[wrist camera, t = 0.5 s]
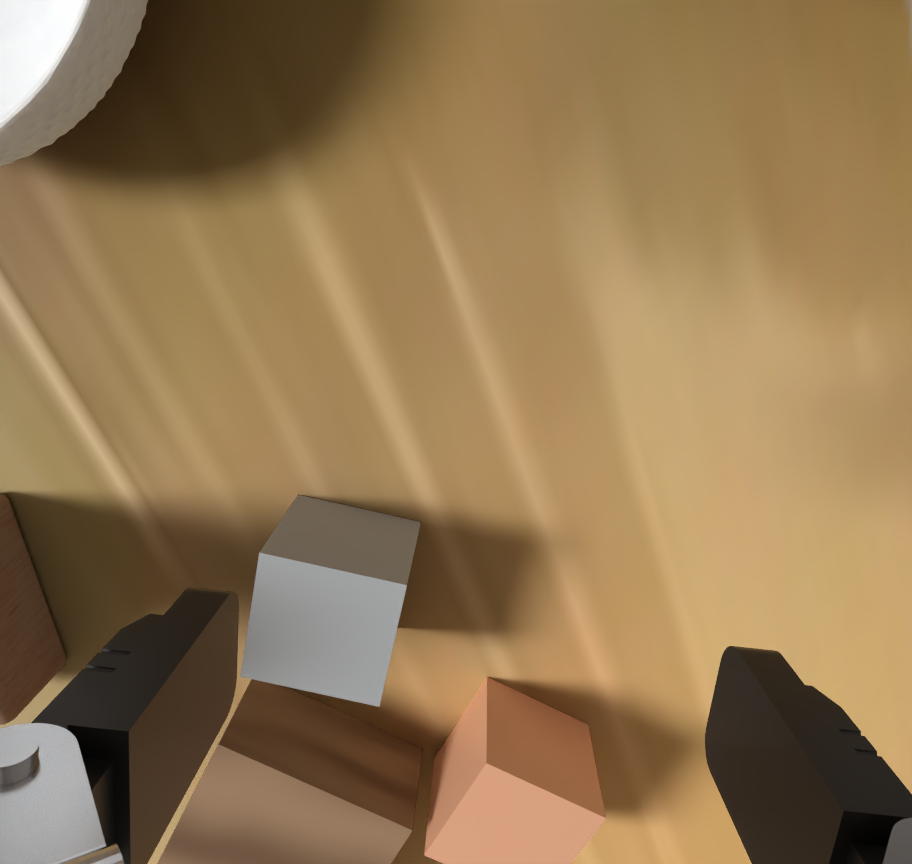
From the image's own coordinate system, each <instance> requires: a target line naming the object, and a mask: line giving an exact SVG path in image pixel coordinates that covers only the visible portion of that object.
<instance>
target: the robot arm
mask: <svg viewBox="0 0 912 864" xmlns="http://www.w3.org/2000/svg"><path fill="white" fill-rule="evenodd" d="M238 616H239V602H238V596H237V594H236V593H235V592H231V591H221V590H212V589H202V588H193V587H189V588H187V589H186V590H185V591H184V592H183V594H182V595H181V596H180V597H179V598H178V599H177V600H176V602H175V603H174V604H173V605H172V606H171V607H170V608H169V610H168V611H167V612H166V613H165V614H164V615H155V614H149V615H147V616H145V617H143V618H141V619H139V620H138V621H136V622H134V623H132V624H130V625H128V626H126V627H124V628H122V629H121V630H120V631H119V632H118V633H117V634H116V635H115V636H114V637H113V638H112V639H111V640H110V641H109V642H108V643H107V644H106V645H105V646H104V648H103V649H102V652H101V653H98V654H97V655H96V656H95V657H94V658H93V659H92V660H91V661H90V662H89V663H88V664H87V667H86V669H85V670H84V669H82V670H81V672H80V673H79V674H78V675H77V676H76V677H75V678H74V679H73V680H72V681H71V682H70V683H69V684H68V685H67V686H66V687H65V688H64V689H63V690H62V691H61V692H60V693H59V694H58V696H57V697H56V698H55V699H54V700H53V701H52V702H51V703H50V704H49V705H48V706H47V707H46V708H45V709H44V710H43V711H42V712H41V713H40V714H39V715H38V716H37V717H36V718H35V720H34V721H33V722H32V723H27V724H19V725H13V726H9V727H5V728H1V729H0V864H147V863H148V861H149V859H150V858H151V856H152V854H153V852H154V850H155V848H156V847H157V845H158V843H159V841H160V839H161V837H162V835H163V834H164V832H165V830H166V828H167V826H168V824H169V823H170V821H171V819H172V817H173V815H174V813H175V812H176V810H177V808H178V806H179V804H180V802H181V801H182V799H183V797H184V795H185V793H186V791H187V790H188V788H189V786H190V784H191V782H192V780H193V779H194V777H195V775H196V773H197V771H198V769H199V768H200V766H201V764H202V762H203V760H204V758H205V756H206V755H207V753H208V751H209V749H210V747H211V745H212V744H213V742H214V740H215V738H216V736H217V734H218V733H219V731H220V729H221V727H222V725H223V723H224V722H225V720H226V718H227V716H228V713H229V711H230V708H231V705H232V701H233V697H234V693H235V687H236V679H237V651H238ZM705 750H706V758H707V763H708V767H709V770H710V772H711V775H712V777H713V779H714V781H715V783H716V786H717V788H718V790H719V792H720V794H721V797H722V799H723V801H724V803H725V805H726V808H727V810H728V812H729V814H730V816H731V819H732V821H733V823H734V825H735V827H736V830H737V832H738V834H739V836H740V838H741V841H742V843H743V845H744V847H745V850H746V852H747V854H748V856H749V858H750V861H751V863H752V864H912V794H911V793H910V792H909V790H908V789H907V788H906V787H905V786H904V784H903V783H902V782H901V781H900V779H899V778H898V777H897V776H896V774H895V773H894V772H893V771H892V769H891V768H890V767H889V766H888V765H887V763H886V762H885V761H884V760H883V758H882V757H880V756H877V751H876V750H875V748H874V747H873V746H872V745H871V744H870V742H869V741H868V740H867V739H866V737H865V736H861V731H860V730H859V729H858V727H857V726H856V725H855V724H854V723H853V721H852V720H851V719H850V718H849V716H848V715H847V714H846V713H845V711H844V710H843V709H842V708H841V707H840V706H839V705H837V704H836V703H834V702H833V701H832V700H830V699H829V698H828V697H826V696H825V695H824V694H822V693H821V692H819V691H818V690H817V689H815V688H814V687H813V686H808V685H804V683H803V682H802V681H801V680H800V678H799V677H798V676H797V674H796V673H795V672H794V670H793V669H792V668H791V666H790V665H789V664H788V663H787V661H786V660H785V659H784V657H783V656H782V655H781V654H780V653H779V652H777V651H773V650H764V649H754V648H745V647H735V646H729V647H728V648H726V650H725V651H724V653H723V655H722V658H721V662H720V667H719V671H718V676H717V681H716V685H715V690H714V694H713V699H712V704H711V708H710V713H709V717H708V722H707V727H706V734H705Z"/></svg>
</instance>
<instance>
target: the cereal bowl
mask: <svg viewBox="0 0 912 864" xmlns="http://www.w3.org/2000/svg"><path fill="white" fill-rule="evenodd" d="M148 1H149V0H0V166H3V165H9V164H11V163H13V162H14V161H16V160H17V159H20V158H24V157H28V156H30V155H32V154H34V153H35V152H36V151H37V150H39V149H40V148H42V147H45V146H48V145H52V144H53V143H54V142H55V141H56V139H57V138H58V137H60V136H62V135H64V134H66V133H67V132H68V131H69V130H70V129H72V128H74V127H75V125H76V124H77V123H78V122H79V121H80V120H81V119H83V118H84V117H86V116H87V114H88V112H89V111H91V110H93V109H94V108H95V106H96V104H97V102H98V101H100V100H101V99H102V98H103V97H104V96H105V93H106V91H107V90H108V89H109V88H110V87H111V86H112V83H113V82H114V79H115V78H116V77H117V76H118V75H119V74H120V73H121V71H122V66H123V64H124V62H125V61H126V59H127V58H128V56H129V52H130V50H131V49H132V47H133V46H134V44H135V40H136V36H137V34H138V33H139V31H140V29H141V22H142V20H143V18H144V16H145V14H146V6H147V2H148Z"/></svg>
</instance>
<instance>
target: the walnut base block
mask: <svg viewBox="0 0 912 864" xmlns="http://www.w3.org/2000/svg"><path fill="white" fill-rule="evenodd" d="M422 751H423V749H421V748H419V747H417V746H415V745H412V744H410V743H408V742H406V741H404V740H401V739H399V738H397V737H395V736H393V735H391V734H388V733H386V732H384V731H382V730H380V729H377V728H375V727H373V726H371V725H369V724H367V723H364V722H362V721H360V720H358V719H356V718H353V717H351V716H349V715H347V714H345V713H343V712H340V711H338V710H336V709H334V708H332V707H329V706H327V705H325V704H323V703H321V702H319V701H316V700H314V699H312V698H310V697H308V696H305V695H303V694H301V693H299V692H297V691H294V690H292V689H290V688H288V687H286V686H281V685H276V684H272V683H267V682H263V681H258V680H253V679H252V680H251V681H250V683H249V685H248V687H247V689H246V691H245V693H244V695H243V697H242V699H241V701H240V703H239V705H238V707H237V709H236V711H235V713H234V715H233V717H232V718H231V720H230V722H229V724H228V726H227V728H226V730H225V732H224V734H223V736H222V738H221V740H220V742H219V744H218V746H217V748H216V750H215V752H214V754H213V756H212V757H211V759H210V761H209V763H208V765H207V767H206V769H205V771H204V773H203V775H202V777H201V779H200V781H199V783H198V785H197V787H196V789H195V791H194V793H193V794H192V796H191V798H190V800H189V802H188V804H187V806H186V808H185V810H184V812H183V814H182V816H181V818H180V820H179V822H178V824H177V826H176V828H175V830H174V832H173V834H172V836H171V838H170V840H169V842H168V844H167V846H166V848H165V850H164V852H163V854H162V855H161V857H160V859H159V861H158V863H157V864H391V863H392V861H393V860H394V858H395V857H396V855H397V854H398V852H399V851H400V849H401V847H402V846H403V844H404V843H405V841H406V840H407V838H408V837H409V835H410V834H411V832H412V831H413V824H414V816H415V808H416V799H417V791H418V783H419V775H420V767H421V759H422Z"/></svg>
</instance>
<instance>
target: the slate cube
mask: <svg viewBox="0 0 912 864" xmlns="http://www.w3.org/2000/svg"><path fill="white" fill-rule="evenodd" d="M420 525H421V522H419V521H414V520H410V519H405V518H401V517H396V516H392V515H387V514H383V513H378V512H374V511H369V510H365V509H360V508H356V507H351V506H347V505H343V504H338V503H334V502H329V501H325V500H320V499H316V498H311V497H307V496H302V495H298V496H297V497H296V499H295V500H294V501H293V503H292V504H291V506H290V507H289V509H288V510H287V512H286V513H285V515H284V516H283V518H282V519H281V521H280V522H279V524H278V525H277V527H276V528H275V530H274V531H273V533H272V534H271V536H270V537H269V539H268V540H267V542H266V543H265V545H264V546H263V548H262V549H261V551H260V552H259V557H258V564H257V571H256V577H255V584H254V591H253V597H252V604H251V610H250V617H249V624H248V630H247V637H246V644H245V650H244V657H243V664H242V670H241V677H244V678H249V679H253V680H258V681H263V682H267V683H272V684H276V685H281V686H286V687H290V688H295V689H299V690H304V691H309V692H313V693H318V694H322V695H327V696H332V697H336V698H341V699H345V700H350V701H355V702H359V703H364V704H368V705H373V706H378V707H379V706H380V702H381V697H382V693H383V689H384V684H385V680H386V675H387V671H388V667H389V662H390V658H391V654H392V649H393V645H394V640H395V636H396V632H397V627H398V623H399V618H400V614H401V610H402V605H403V601H404V596H405V592H406V588H407V583H408V579H409V574H410V570H411V565H412V561H413V556H414V552H415V547H416V543H417V538H418V534H419V529H420Z"/></svg>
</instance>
